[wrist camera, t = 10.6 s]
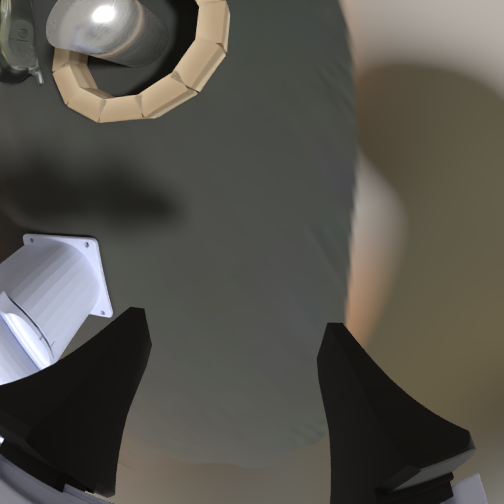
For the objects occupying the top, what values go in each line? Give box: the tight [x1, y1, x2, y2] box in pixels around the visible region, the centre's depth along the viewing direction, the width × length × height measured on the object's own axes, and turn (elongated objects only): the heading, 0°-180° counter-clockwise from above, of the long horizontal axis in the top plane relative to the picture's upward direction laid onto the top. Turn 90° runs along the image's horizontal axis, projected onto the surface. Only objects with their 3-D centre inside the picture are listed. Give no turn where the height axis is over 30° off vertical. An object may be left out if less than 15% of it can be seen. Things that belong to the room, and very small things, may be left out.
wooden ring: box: [52, 0, 230, 123], centre depth 13 cm, size 12×12×2 cm
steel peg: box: [46, 0, 169, 68], centre depth 10 cm, size 4×4×8 cm
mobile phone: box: [0, 0, 44, 86], centre depth 9 cm, size 5×3×15 cm
